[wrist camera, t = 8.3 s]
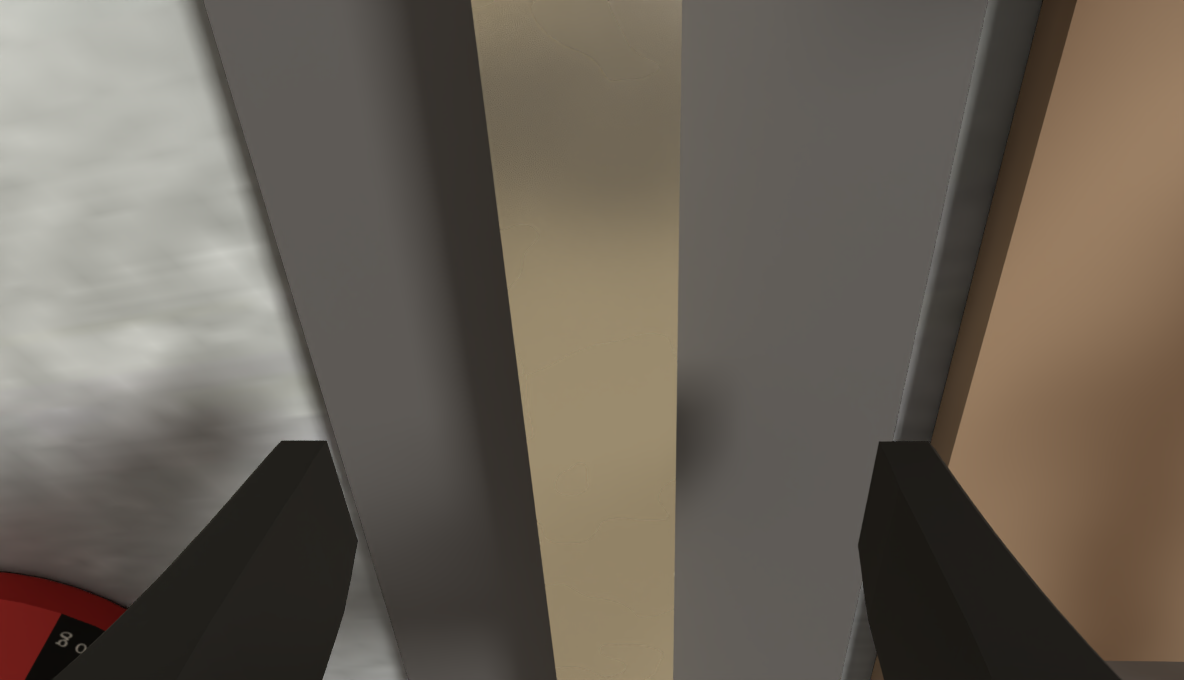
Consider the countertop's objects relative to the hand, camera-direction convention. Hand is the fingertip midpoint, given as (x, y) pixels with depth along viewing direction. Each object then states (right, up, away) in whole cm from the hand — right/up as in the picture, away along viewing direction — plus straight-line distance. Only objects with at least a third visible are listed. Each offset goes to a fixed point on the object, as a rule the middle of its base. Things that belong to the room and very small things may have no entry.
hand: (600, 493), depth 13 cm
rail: (0, +2, +3) cm, 4 cm away
